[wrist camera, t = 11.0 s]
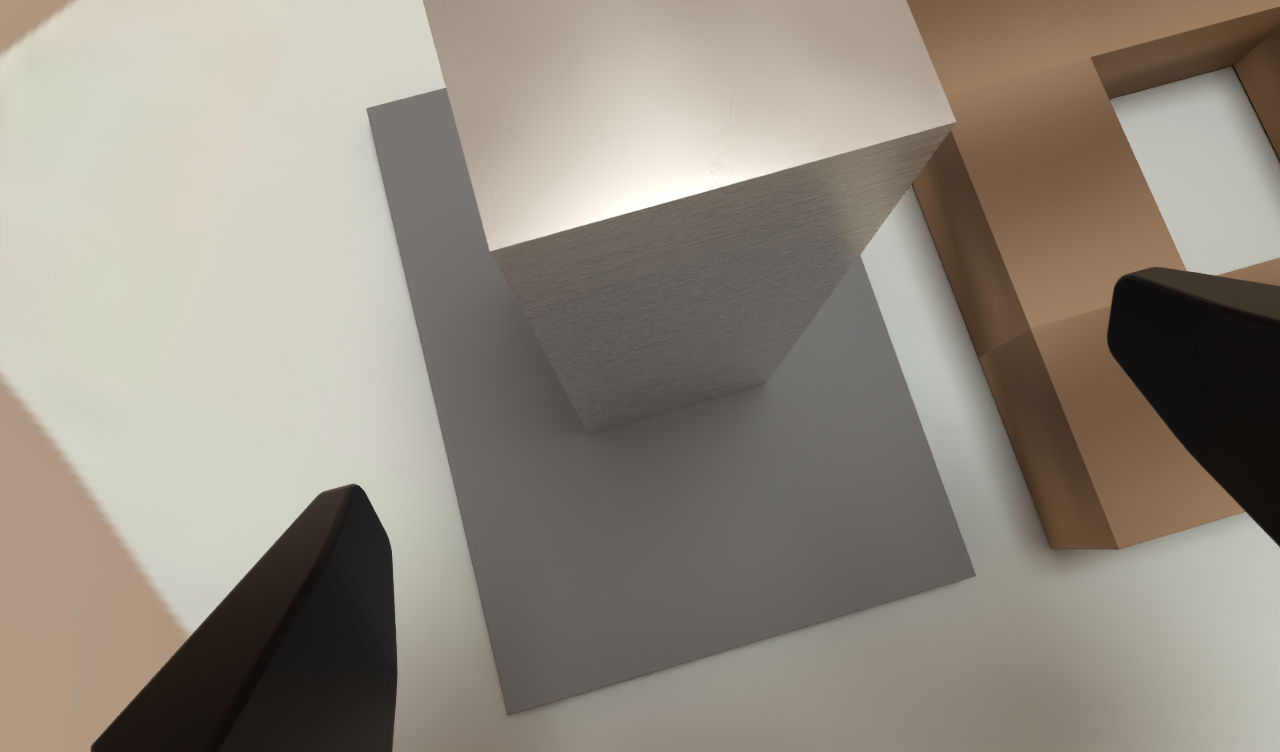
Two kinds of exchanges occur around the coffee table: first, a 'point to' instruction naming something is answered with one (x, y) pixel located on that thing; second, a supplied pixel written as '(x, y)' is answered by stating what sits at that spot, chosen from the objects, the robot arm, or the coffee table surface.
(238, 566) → the coffee table surface
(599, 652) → the grey mat
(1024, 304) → the brown wooden frame
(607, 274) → the steel key bar
